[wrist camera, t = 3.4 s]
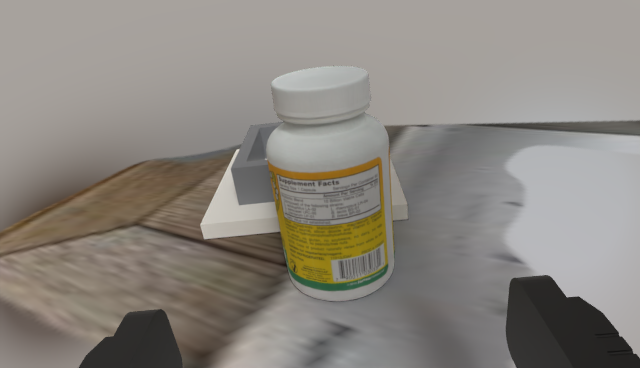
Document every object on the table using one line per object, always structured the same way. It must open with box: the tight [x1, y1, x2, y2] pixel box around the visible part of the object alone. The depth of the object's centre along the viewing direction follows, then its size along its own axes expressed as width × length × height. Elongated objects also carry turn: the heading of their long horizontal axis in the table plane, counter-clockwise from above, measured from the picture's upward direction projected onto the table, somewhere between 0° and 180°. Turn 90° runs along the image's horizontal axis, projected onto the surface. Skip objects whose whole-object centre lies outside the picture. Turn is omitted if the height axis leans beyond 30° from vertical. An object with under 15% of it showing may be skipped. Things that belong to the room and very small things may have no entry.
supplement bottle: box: [266, 66, 395, 301], centre depth 20 cm, size 5×5×10 cm
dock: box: [200, 122, 408, 239], centre depth 30 cm, size 12×12×4 cm
